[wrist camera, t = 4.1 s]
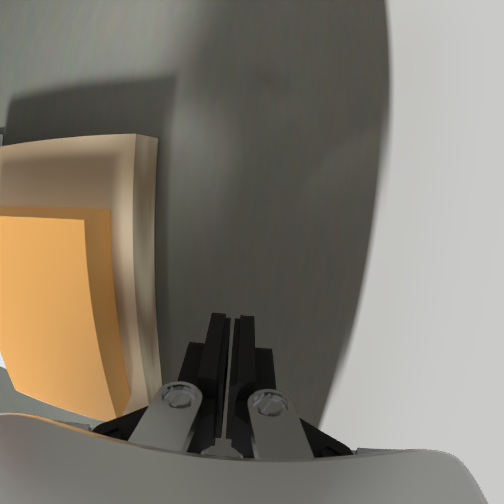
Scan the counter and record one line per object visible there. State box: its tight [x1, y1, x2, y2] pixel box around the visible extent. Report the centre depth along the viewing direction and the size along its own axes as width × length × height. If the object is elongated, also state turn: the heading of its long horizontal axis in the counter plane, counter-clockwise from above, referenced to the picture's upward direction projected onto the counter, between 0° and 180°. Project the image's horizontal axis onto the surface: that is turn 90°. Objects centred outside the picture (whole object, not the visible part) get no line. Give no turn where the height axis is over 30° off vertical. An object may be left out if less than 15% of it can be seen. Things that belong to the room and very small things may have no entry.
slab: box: [0, 206, 131, 422], centre depth 11 cm, size 10×7×2 cm
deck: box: [0, 134, 162, 422], centre depth 14 cm, size 16×11×3 cm
